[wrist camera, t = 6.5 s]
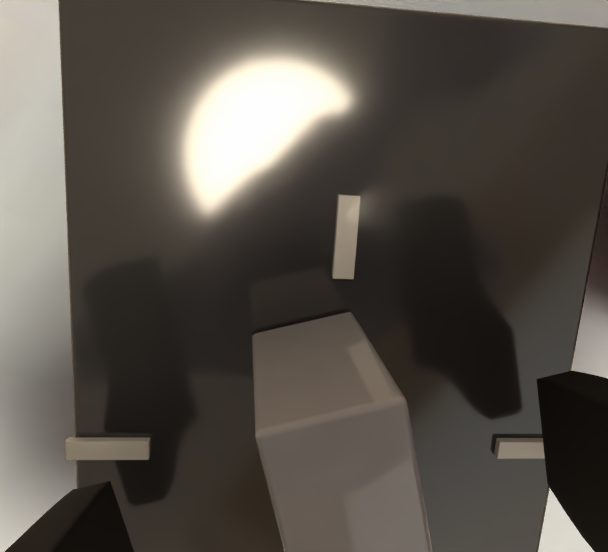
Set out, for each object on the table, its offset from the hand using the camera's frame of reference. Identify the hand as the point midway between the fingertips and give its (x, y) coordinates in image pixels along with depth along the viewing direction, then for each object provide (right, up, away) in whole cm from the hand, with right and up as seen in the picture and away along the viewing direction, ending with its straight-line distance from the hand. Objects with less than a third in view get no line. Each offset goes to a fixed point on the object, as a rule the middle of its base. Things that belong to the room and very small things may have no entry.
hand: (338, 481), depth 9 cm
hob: (0, +3, +4) cm, 5 cm away
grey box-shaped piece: (0, 0, +1) cm, 1 cm away
